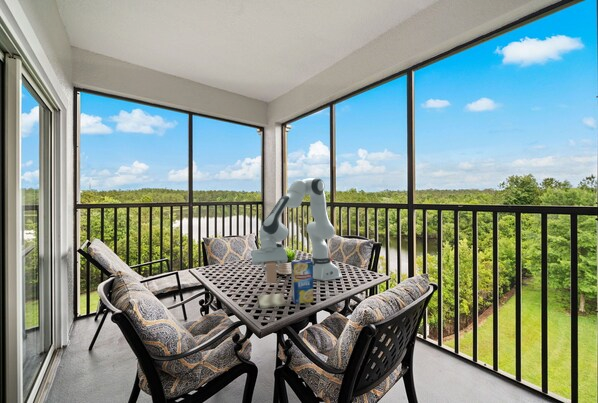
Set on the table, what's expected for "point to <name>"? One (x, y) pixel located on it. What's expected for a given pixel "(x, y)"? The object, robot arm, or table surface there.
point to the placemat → (271, 300)
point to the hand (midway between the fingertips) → (271, 270)
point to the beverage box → (302, 281)
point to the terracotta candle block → (271, 272)
